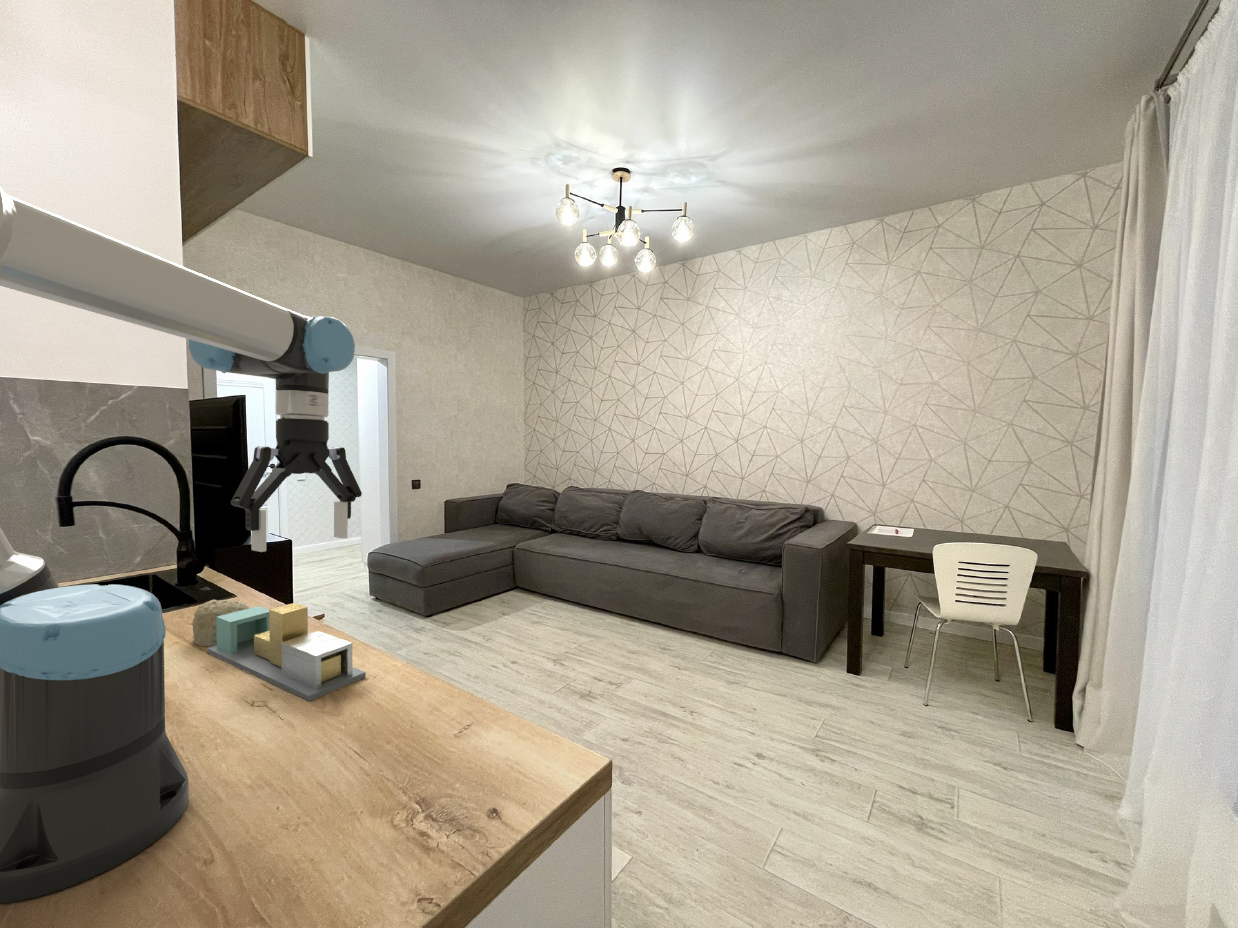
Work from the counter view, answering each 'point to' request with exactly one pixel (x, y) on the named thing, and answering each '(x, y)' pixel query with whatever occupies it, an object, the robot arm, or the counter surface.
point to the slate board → (280, 671)
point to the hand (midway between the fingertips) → (302, 543)
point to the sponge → (212, 620)
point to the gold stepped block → (286, 627)
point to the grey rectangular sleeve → (313, 657)
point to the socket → (240, 627)
